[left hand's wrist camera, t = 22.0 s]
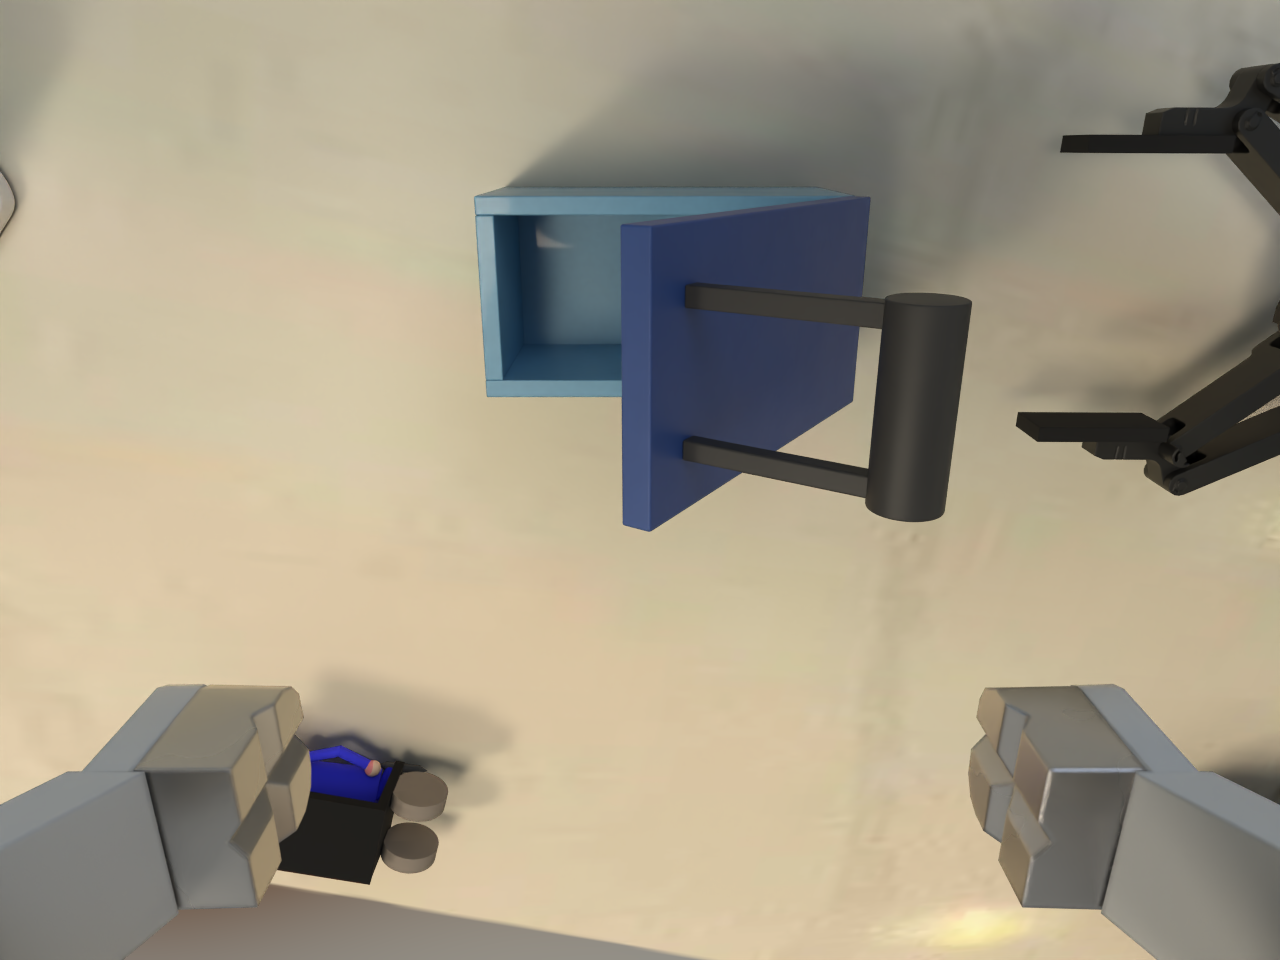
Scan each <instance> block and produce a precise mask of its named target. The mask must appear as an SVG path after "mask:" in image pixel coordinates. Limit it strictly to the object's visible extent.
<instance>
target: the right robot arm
mask: <svg viewBox="0 0 1280 960" xmlns="http://www.w3.org/2000/svg"><path fill="white" fill-rule="evenodd" d="M1229 87H1230V92H1229V94H1228V96H1227V97H1226V99H1225V100H1224V101H1223V102H1222V103H1221V104H1220V105H1219V106H1217V107H1215V108H1163V109H1156V110H1154V111H1151V112H1149V113H1146V116H1145V121H1144V127H1143V132H1142V135H1066V136H1063V139H1062V145H1061V151H1060V152H1062V153H1226V154H1227V156H1228V157H1229V158H1230V159H1231V160H1232V161H1233V162H1234V164H1235V165H1236V166H1237V167H1238V168H1239V169H1240V170H1241V172H1242V173H1243V174H1244V175H1245V176H1246V177H1247V178H1248V180H1249V181H1250V182H1251V183H1252V184H1253V185H1254V186H1255V188H1256V189H1257V190H1258V191H1259V192H1260V193H1261V194H1262V196H1263V197H1264V198H1265V199H1266V200H1267V201H1268V202H1269V204H1270V205H1271V206H1272V207H1273V208H1274V209H1275V210H1276V212H1277V213H1278V214H1279V215H1280V130H1279V128H1278V127H1277V126H1276V125H1275V124H1274V122H1273V121H1272V120H1271V119H1270V118H1269V117H1271V118H1272V119H1274V120H1276V121H1277V122H1279V123H1280V63H1278V64H1268V65H1261V66H1253V67H1248V68H1241V69H1239V70H1237V71H1236V72H1235V73H1234V74H1233V75H1232V77H1231V79H1230V84H1229ZM1268 116H1269V117H1268ZM1273 322H1274V323H1277V324H1278V330H1279V331H1277V332H1276V333H1274V334H1273V335H1272V336H1270V337H1269V338H1267V339H1266V340H1264V341H1263V342H1261V343H1260V344H1258V345H1257V346H1256V347H1254V348H1253V350H1252V355H1251V356H1250V357H1249V358H1247V359H1246V360H1245V361H1243V362H1242V363H1240V364H1239V365H1237V366H1236V367H1234V368H1233V369H1231V370H1230V371H1228V372H1227V373H1226V374H1224V375H1223V376H1221V377H1220V378H1218V379H1217V380H1215V381H1214V382H1212V383H1211V384H1210V385H1208V386H1207V387H1205V388H1204V389H1202V390H1201V391H1199V392H1198V393H1196V394H1195V395H1194V396H1192V397H1191V398H1189V399H1188V400H1186V401H1185V402H1183V403H1182V404H1180V405H1179V406H1177V407H1176V408H1175V409H1173V410H1172V411H1170V412H1169V413H1167V414H1166V415H1164V416H1163V417H1161V418H1160V419H1159V420H1157V421H1156V420H1154V419H1152V418H1150V417H1148V416H1146V415H1144V414H1142V413H1068V412H1018V416H1017V422H1016V426H1017V427H1018V428H1019V429H1021V430H1022V431H1024V432H1025V433H1026V434H1028V435H1029V436H1030V437H1032V438H1033V439H1034V440H1036V441H1037V442H1083V443H1082V448H1084V449H1085V450H1087V451H1088V452H1090V453H1091V454H1093V455H1094V456H1096V457H1099V458H1101V459H1124V460H1146V461H1147V464H1146V465H1145V468H1144V474H1145V476H1146V477H1147V478H1149V479H1150V480H1152V481H1153V482H1155V483H1156V484H1158V485H1159V486H1161V487H1162V488H1164V489H1166V490H1167V491H1169V492H1170V493H1172V494H1174V495H1178V496H1180V495H1184V494H1186V493H1189V492H1191V491H1193V490H1196V489H1198V488H1201V487H1203V486H1206V485H1208V484H1210V483H1213V482H1215V481H1218V480H1220V479H1222V478H1225V477H1227V476H1230V475H1232V474H1234V473H1237V472H1239V471H1242V470H1244V469H1247V468H1249V467H1251V466H1254V465H1256V464H1259V463H1261V462H1263V461H1266V460H1268V459H1271V458H1273V457H1275V456H1278V455H1280V406H1278V407H1276V408H1273V409H1270V410H1268V411H1266V412H1263V413H1261V414H1259V415H1256V416H1254V417H1251V418H1249V419H1247V420H1244V421H1242V422H1240V421H1241V420H1243V419H1244V418H1246V417H1247V416H1249V415H1250V414H1252V413H1253V412H1255V411H1256V410H1258V409H1259V408H1261V407H1262V406H1264V405H1265V404H1266V403H1268V402H1269V401H1271V400H1272V399H1274V398H1275V397H1277V396H1278V395H1280V301H1279V303H1278V305H1277V307H1276V310H1275V314H1274V318H1273ZM1238 422H1240V423H1238Z"/></svg>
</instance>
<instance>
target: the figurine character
mask: <svg viewBox="0 0 1280 960" xmlns="http://www.w3.org/2000/svg"><path fill="white" fill-rule="evenodd" d="M309 754H310V761H311V789H310V794H309V798H308V803H307V807H306V812H305V814H304V816H303V818H302V820H301V822H300V824H299V826H298V829H297V831H295V832H294V833H293V834H291V835H290V836H288V837H287V838H285V839H284V840H283V841H281V842H280V843H279V848H280V854H281V860H282V861H281V863H280V865H279V866H278V868H277V870H280V871H287V872H293V873H299V874H305V875H312V876H318V877H324V878H331V879H337V880H343V881H349V882H356V883H362V884H368V885H370V882H371V879H372V875H373V873H374V870H375V868H376V865H377V863H378V860H379V857H380V855H381V858H382V860H383V862H384V863H385V864H386V865H387V866H388V867H389V868H391V869H393V870H395V871H398V872H402V873H418V872H422V871H424V870H426V869H428V868H429V867H430V866H431V865H432V864H433V863H434V860H435V857H436V852H437V848H438V843H439V842H438V838H437V835H436V834H435V833H434V832H433V831H432V830H431V829H430V828H428V827H426V826H424V825H421V824H417V823H401V824H397V825H395V826H393V827H391V823H392V818H393V814H394V813H395V814H396V815H398V816H400V817H401V818H404V819H407V820H410V821H429V820H432V819H435V818H436V817H438V816H439V815H441V813H442V812H443V810H444V807H445V803H446V799H447V795H448V788H447V786H446V784H445V783H444V782H443V781H442V780H441V779H440V778H438V777H437V776H435V775H432V774H429V773H425V772H426V771H427V770H425V769H424V768H423V767H421V766H419V765H410V764H404V762H400V761H396V762H395V763H394V762H385V763H382V764H380V763H379V762H378V761H376V760H372V761H371V760H370V759H368V758H365V757H363V756H361V755H359V754H357V753H355V752H353V751H351V750H349V749H347V748H345V747H343V746H342V745H340V746H335V747H330V748H325V749H320V750H314V751H309ZM335 757H340V758H342V759H344V760H346V761H348V762H350V763H352V764H354V765H349V764H341V763H332V762H324V761H320V760H325V759H330V758H335ZM381 767H382V768H381ZM382 769H384V772H383V774H382ZM402 772H406V773H404V774H402Z"/></svg>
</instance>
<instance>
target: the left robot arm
mask: <svg viewBox="0 0 1280 960" xmlns="http://www.w3.org/2000/svg"><path fill="white" fill-rule="evenodd" d="M14 207H15V200H14V196H13V193H12V190H11V188H10V186H9V184H8V182H7V181H6V179H5V178H4V176H3V174H2V173H1V171H0V233H1V231H2V230H3V228H4V227H5V225H6V223H7V222H8V220H9V219H10V217H11V215H12V213H13V211H14ZM303 718H304V717H303V712H302V707H301V702H300V697H299V693H298V692H297V691H296V690H295V689H293V688H292V687H291V686H245V685H208V686H207V685H204V684H198V685H166V686H162V687H159V688H157V689H156V690H155V691H154V692H153V693H152V694H151V695H150V696H149V697H148V698H147V700H146V701H145V702H144V703H143V704H142V705H141V706H140V707H139V708H138V710H137V711H136V712H135V713H134V714H133V715H132V716H131V717H130V718H129V720H128V721H127V722H126V723H125V724H124V725H123V726H122V727H121V728H120V729H119V731H118V732H117V733H116V734H115V735H114V736H113V737H112V738H111V739H110V741H109V742H108V743H107V744H106V745H105V746H104V747H103V748H102V749H101V751H100V752H99V753H98V754H97V755H96V756H95V757H94V758H93V759H92V761H91V762H90V763H89V764H88V765H87V766H86V767H85V768H84V769H83V770H82V771H78V772H66V773H64V774H62V775H60V776H58V777H56V778H54V779H51V780H49V781H47V782H45V783H43V784H41V785H39V786H37V787H35V788H33V789H31V790H29V791H27V792H25V793H23V794H21V795H19V796H17V797H15V798H13V799H11V800H9V801H7V802H5V803H3V804H1V805H0V960H124V959H125V958H126V957H127V956H128V955H130V954H131V953H132V952H133V951H134V950H136V949H137V948H138V947H139V946H140V945H142V944H143V943H144V942H145V941H146V940H148V939H149V938H150V937H151V936H153V935H154V934H155V933H156V932H157V931H159V930H160V929H161V928H162V927H163V926H165V925H166V924H167V923H168V922H169V921H170V920H172V919H173V918H174V917H175V916H177V915H178V913H179V912H178V910H179V909H214V908H248V907H258V906H259V904H260V902H261V900H262V898H263V896H264V894H265V892H266V890H267V888H268V886H269V884H270V882H271V880H272V878H273V876H274V874H275V872H276V870H277V868H278V866H279V865H280V863H281V861H282V860H281V854H280V848H279V843H280V842H281V841H283V840H284V839H285V838H287V837H288V836H290V835H291V834H293V833H294V832H295V831H297V829H298V826H299V824H300V822H301V820H302V818H303V816H304V814H305V812H306V807H307V803H308V798H309V794H310V789H311V761H310V754H309V749H308V748H307V747H306V746H305V745H304V744H303V743H302V742H301V741H300V740H299V739H298V738H297V737H296V736H295V735H294V733H295V732H296V730H297V728H298V726H299V725H300V723H301V721H302V719H303ZM976 718H977V719H978V721H979V723H980V725H981V726H982V728H983V730H984V732H985V733H986V735H985V736H984V737H983V738H982V739H981V740H980V741H979V742H978V743H977V744H976V745H975V746H974V747H973V748H972V749H971V755H970V764H969V772H968V775H969V786H970V797H971V800H972V804H973V807H974V811H975V814H976V816H977V818H978V820H979V822H980V824H981V827H982V829H983V831H985V832H986V833H987V834H989V835H990V836H992V837H993V838H995V839H996V840H997V841H999V842H1000V843H1001V848H1000V854H999V860H998V861H999V863H1000V865H1001V867H1002V868H1003V870H1004V872H1005V874H1006V876H1007V878H1008V880H1009V882H1010V884H1011V886H1012V888H1013V890H1014V892H1015V894H1016V896H1017V898H1018V900H1019V902H1020V904H1021V906H1022V907H1029V908H1065V909H1100V910H1102V911H1101V914H1103V915H1104V916H1105V917H1106V918H1107V919H1109V920H1110V921H1111V922H1112V923H1113V924H1115V925H1116V926H1117V927H1118V928H1119V929H1121V930H1122V931H1123V932H1124V933H1125V934H1127V935H1128V936H1129V937H1130V938H1131V939H1133V940H1134V941H1135V942H1136V943H1137V944H1139V945H1140V946H1141V947H1142V948H1143V949H1145V950H1146V951H1147V952H1148V953H1149V954H1151V955H1152V956H1153V957H1154V958H1155V959H1157V960H1280V805H1279V804H1277V803H1275V802H1273V801H1271V800H1269V799H1267V798H1265V797H1263V796H1261V795H1259V794H1257V793H1255V792H1253V791H1251V790H1249V789H1247V788H1245V787H1243V786H1241V785H1239V784H1237V783H1235V782H1233V781H1230V780H1228V779H1226V778H1224V777H1222V776H1220V775H1218V774H1216V773H1214V772H1202V771H1197V769H1196V768H1195V767H1194V766H1193V765H1192V764H1191V763H1190V762H1189V761H1188V759H1187V758H1186V757H1185V756H1184V755H1183V754H1182V753H1181V752H1180V751H1179V749H1178V748H1177V747H1176V746H1175V745H1174V744H1173V743H1172V742H1171V741H1170V739H1169V738H1168V737H1167V736H1166V735H1165V734H1164V733H1163V732H1162V731H1161V730H1160V728H1159V727H1158V726H1157V725H1156V724H1155V723H1154V722H1153V721H1152V720H1151V718H1150V717H1149V716H1148V715H1147V714H1146V713H1145V712H1144V711H1143V710H1142V708H1141V707H1140V706H1139V705H1138V704H1137V703H1136V702H1135V701H1134V700H1133V698H1132V697H1131V696H1130V695H1129V694H1128V693H1127V692H1126V691H1125V690H1124V689H1123V688H1121V687H1119V686H1116V685H1114V684H1098V685H1071V686H1051V687H997V688H985V689H984V691H983V693H982V695H981V697H980V700H979V705H978V711H977V717H976Z"/></svg>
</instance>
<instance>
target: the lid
mask: <svg viewBox="0 0 1280 960" xmlns="http://www.w3.org/2000/svg"><path fill="white" fill-rule="evenodd" d="M869 211H870V197H860V196H846V197H838V198H830V199H822V200H814V201H806V202H797V203H789V204H781V205H773V206H765V207H757V208H749V209H740V210H732V211H724V212H716V213H708V214H700V215H692V216H683V217H675V218H667V219H659V220H651V221H643V222H635V223H626V224H622V225H621V227H620V238H621V362H622V486H623V525H625V526H629V527H633V528H637V529H641V530H644V531H648V532H650V531H652V530H654V529H655V528H657V527H658V526H660V525H661V524H663V523H665V522H666V521H668V520H669V519H671V518H672V517H674V516H675V515H677V514H679V513H680V512H682V511H683V510H685V509H686V508H688V507H689V506H691V505H693V504H694V503H696V502H697V501H699V500H700V499H702V498H703V497H705V496H707V495H708V494H710V493H711V492H713V491H714V490H716V489H717V488H719V487H721V486H722V485H724V484H725V483H727V482H728V481H730V480H731V479H733V478H735V477H736V476H738V475H739V474H741V473H742V472H743V473H748V474H752V475H757V476H762V477H767V478H772V479H776V480H781V481H786V482H791V483H796V484H800V485H805V486H810V487H815V488H820V489H824V490H829V491H834V492H839V493H844V494H848V495H853V496H858V497H863V498H866V499H865V504H866V507H867V508H868V509H869V510H870V511H871V512H873V513H875V514H877V515H879V516H882V517H885V518H888V519H892V520H897V521H905V522H925V521H931V520H935V519H937V518H939V517H941V516H942V515H943V514H944V511H945V504H946V497H947V489H948V482H949V474H950V466H951V459H952V451H953V444H954V436H955V429H956V421H957V413H958V406H959V398H960V391H961V383H962V376H963V368H964V360H965V353H966V345H967V338H968V330H969V322H970V315H971V307H972V301H971V300H969V299H967V298H964V297H959V296H954V295H946V294H936V293H900V294H893V295H889V296H887V297H886V298H885V299H878V298H867V297H862V290H863V279H864V267H865V256H866V245H867V233H868V222H869ZM859 327H868V328H877V329H882V334H881V345H880V355H879V365H878V375H877V386H876V396H875V406H874V417H873V427H872V437H871V448H870V458H869V468H868V469H866V468H861V467H856V466H851V465H845V464H840V463H835V462H830V461H824V460H819V459H814V458H809V457H803V456H798V455H793V454H788V453H782V452H777V450H778V449H780V448H781V447H783V446H784V445H786V444H787V443H789V442H791V441H792V440H794V439H795V438H797V437H798V436H800V435H801V434H803V433H805V432H806V431H808V430H809V429H811V428H812V427H814V426H815V425H817V424H819V423H820V422H822V421H823V420H825V419H826V418H828V417H829V416H831V415H833V414H834V413H836V412H837V411H839V410H840V409H842V408H843V407H845V406H847V405H848V404H850V403H851V402H852V401H853V393H854V381H855V370H856V358H857V347H858V336H859Z"/></svg>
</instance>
